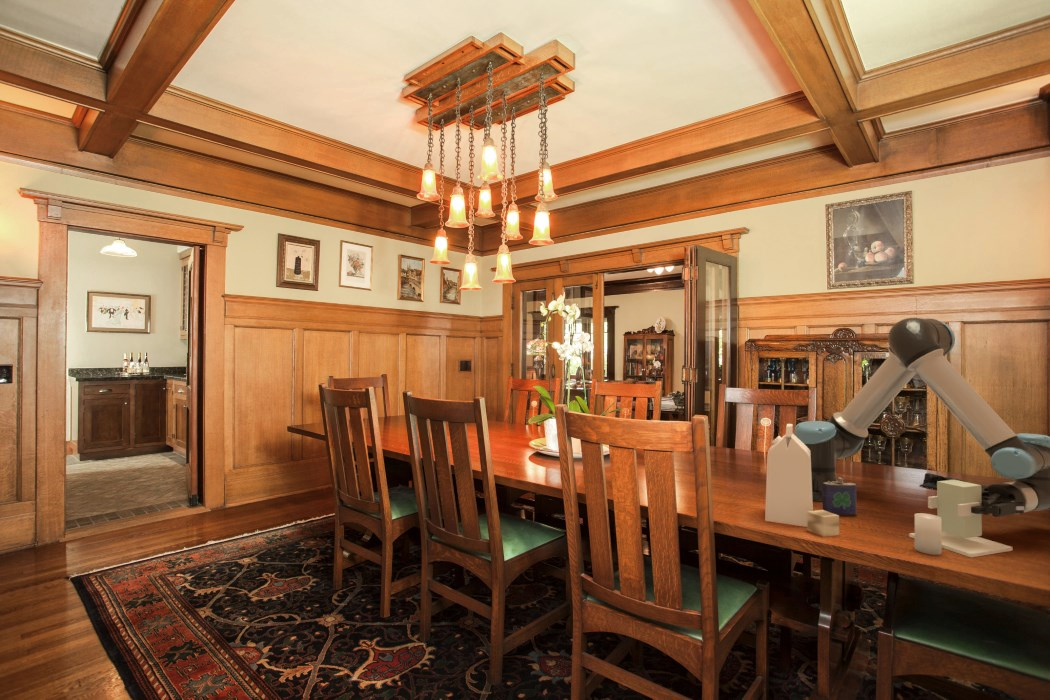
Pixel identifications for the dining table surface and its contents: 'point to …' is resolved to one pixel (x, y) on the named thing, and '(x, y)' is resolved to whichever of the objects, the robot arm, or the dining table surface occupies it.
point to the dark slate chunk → (932, 480)
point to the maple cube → (823, 523)
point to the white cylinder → (928, 534)
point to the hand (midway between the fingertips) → (944, 506)
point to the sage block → (947, 508)
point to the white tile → (970, 545)
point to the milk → (788, 481)
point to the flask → (839, 498)
